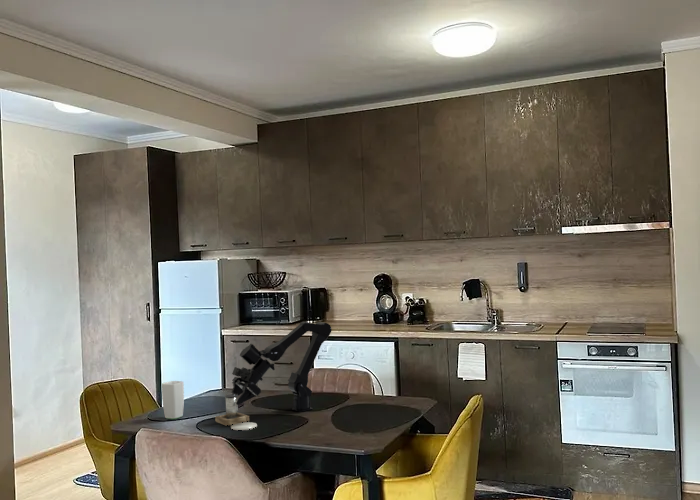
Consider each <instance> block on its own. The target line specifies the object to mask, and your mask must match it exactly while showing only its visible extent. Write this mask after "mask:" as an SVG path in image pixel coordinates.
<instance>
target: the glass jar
mask: <svg viewBox="0 0 700 500" xmlns="http://www.w3.org/2000/svg"><path fill="white" fill-rule="evenodd" d="M224 397H225V413H226V414H225V415H226V419H233V418H238V413H239V412H238V411H239V410H238V409H239V407H238V406H239V405H237V404H236V402H237V401H238V396H237V393H231V392H228V393H225V395H224Z"/></svg>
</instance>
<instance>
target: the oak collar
mask: <svg viewBox="0 0 700 500" xmlns="http://www.w3.org/2000/svg"><path fill="white" fill-rule="evenodd" d="M214 417H215V422H216V423H218V424H221V425H224V426H226V427H228V426H232V424H233V425H234V424H237V423H242V422H243V423H244V422H247V421H248V422H250V415H247V414H244V413H241V412H238V418H233V419H226V414H222V415H215V416H214ZM227 425H228V426H227Z"/></svg>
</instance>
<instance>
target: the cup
mask: <svg viewBox="0 0 700 500" xmlns="http://www.w3.org/2000/svg"><path fill="white" fill-rule="evenodd" d="M184 385H185V384H184V381H182V380H181V381H179V380H170V381H166V382H163V383H161V398H162V399H161V401H162V407H163V412H164V418H165V419H167V420H177V419H180V418H182V417H183V415H184V404H185V403H184V402H185V395H184V394H185V390H184V389H185V388H184Z"/></svg>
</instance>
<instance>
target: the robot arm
mask: <svg viewBox="0 0 700 500" xmlns="http://www.w3.org/2000/svg"><path fill="white" fill-rule="evenodd" d="M332 330H333V329H332V326H331V324H329V323H328V322H316V323H311V322H307V321H301V322H300V323H299V324H298V325H297V326H296V327H295V328H294V329H292V330H291V331H290V332H289V333H287V334H286V335H285V336H284V337H282V338H281V339H280V340H278V341H276V342H274V343H272V344H270V345H268V346H267V347H265V348H264V349H262V350H258V349H257V348H256V346H255V345H254V344H252V343H250V344H249V345H248V346H246V347H244V348H243V349H242V350H241V352H240V353H239V356H240V357H241V358H242V360H244V361H245V362H246V363H247V364H248V365H253V366H252V367H251V368H247V367H242V368H239V367H236V366H234V369H232V373H231V375H233V376H234V377H233V379H232V382H231V383H232V390H231V392H230V393H237V397H238V396H239V398H237V402H236V404H237V405H238V406H240V405H241V404H243V403H245V402H247V401H249V400H250V399H253V398H256V396H258V397H259V395H260V394H261V393H262V391H261V388H260V387H259V386H258V385H257V384H258V383H259V382H261V381H263V378H264V375H265V374H266V373H267V372H268V370H271V371H275V363H273V362H277V361H279V360H280V359H281V358H282V357H283V356H284V354H285V353H286V351H287V350H288V349H289V348H290V347H291V346H292V345H293V344H294V343H295V342H297V341H298V340H299V339H300V338H301V337H303V335H305V334H306V333H308V332H311V342H310V343H309V346H308V347H307V350H306V351H305V354H304V356H303V359H302V360H301V363H300V364H299V367H298V369H297V371H296V372H293V371H292V372H291V374H290V376H289V379H287V381H288V383H287V386H288V389H289V390H290V391H291V392H292V395H293V401H292V402H293V404H292V405H293V407H292V409H291V410H293V411H296V412H300V413H302V412H306V411H310V410H313V407H311V396H312V393H313V391H312V389H311V388H309V387H308V383H309V374H310V371H311V369H312V368H313V365H314V362H315V360H316V358H317V356H318V353H319V351H320V348H321V347H322V345H323V343H324V342H326V340H328V338H329V337H330V336H331V333H332ZM270 361H272V362H270Z"/></svg>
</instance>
